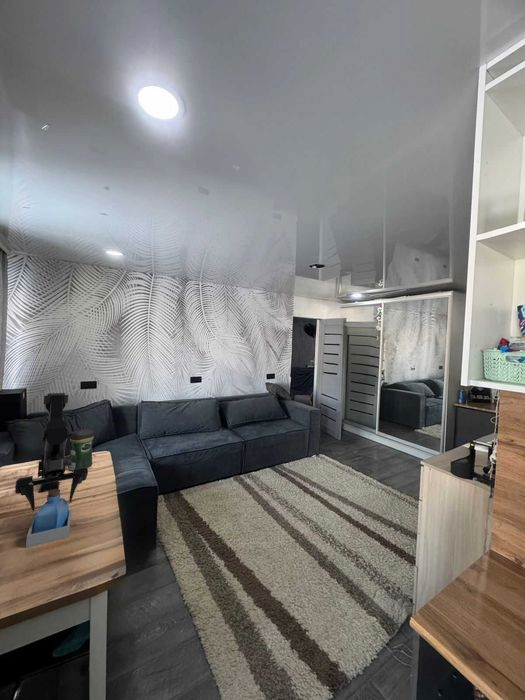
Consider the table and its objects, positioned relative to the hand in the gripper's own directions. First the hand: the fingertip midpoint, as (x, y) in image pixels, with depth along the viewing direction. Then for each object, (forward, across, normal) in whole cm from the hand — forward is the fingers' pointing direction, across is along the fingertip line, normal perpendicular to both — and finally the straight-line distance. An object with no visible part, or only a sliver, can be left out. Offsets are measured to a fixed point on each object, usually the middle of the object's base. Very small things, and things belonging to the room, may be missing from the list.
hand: (52, 506), depth 85 cm
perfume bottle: (+5, 0, +7) cm, 8 cm away
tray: (+5, 0, +7) cm, 9 cm away
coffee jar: (-29, +12, +42) cm, 53 cm away
